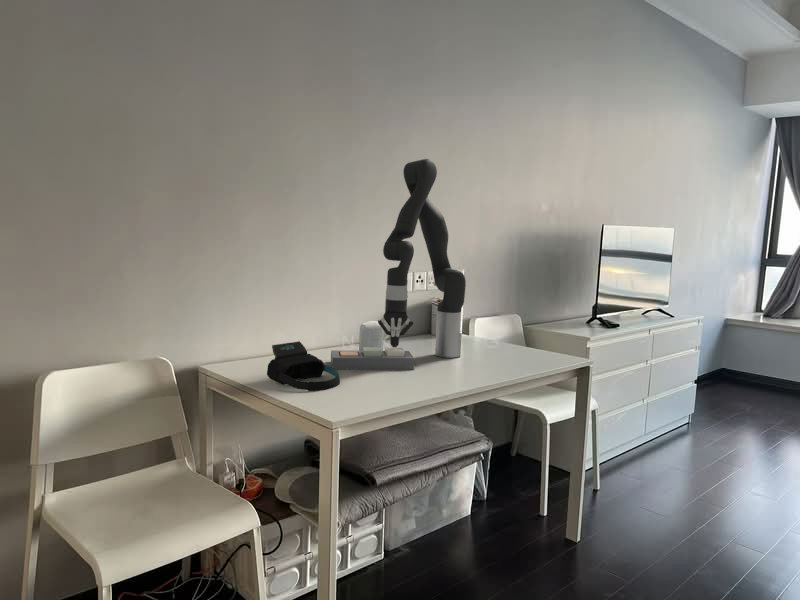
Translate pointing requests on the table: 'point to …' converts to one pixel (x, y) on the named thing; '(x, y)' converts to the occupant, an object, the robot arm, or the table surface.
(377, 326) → the photo printer
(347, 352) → the terracotta key
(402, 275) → the robot arm
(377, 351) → the sage key
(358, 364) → the panel
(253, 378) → the table surface
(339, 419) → the table surface
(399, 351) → the cream key
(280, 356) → the virtual reality headset
